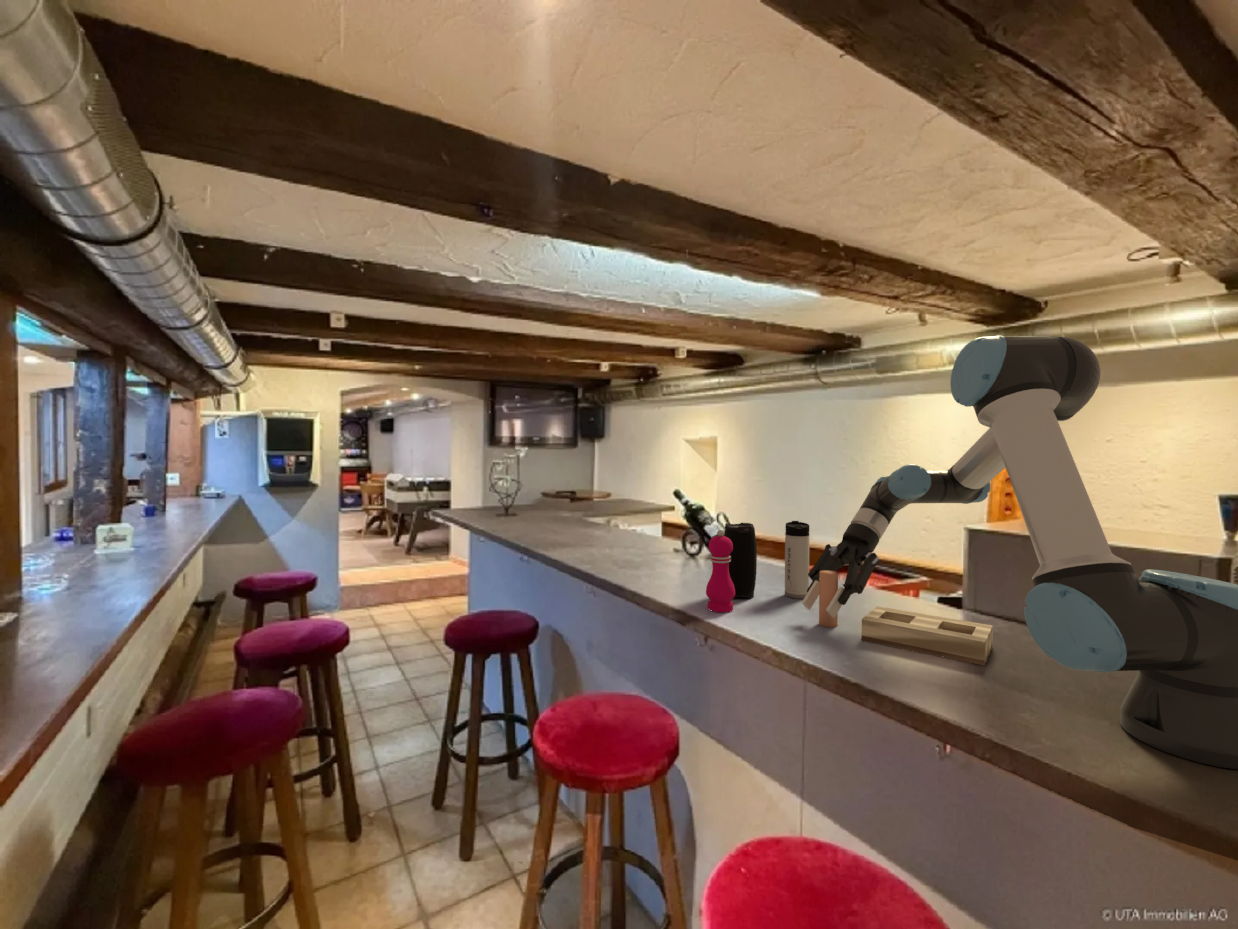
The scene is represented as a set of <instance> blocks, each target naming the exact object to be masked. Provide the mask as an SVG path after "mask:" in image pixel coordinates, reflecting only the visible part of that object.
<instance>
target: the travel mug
mask: <svg viewBox="0 0 1238 929" xmlns="http://www.w3.org/2000/svg"><path fill="white" fill-rule="evenodd" d="M784 536H785V538H784V596H785V597H787V598H790V599H796V600H797V599H798V600H799V599H802V600H803V599H804V598H805V596H806V595H807V593H808V592H807V589H808V588H809V586H810V577H809V576H808V573H809V572H810V537H811V536H810V524H808V522H807V523H806V522H802V521H799V520H791V521H789V522H786V523H785V532H784Z"/></svg>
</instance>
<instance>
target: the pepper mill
mask: <svg viewBox="0 0 1238 929" xmlns="http://www.w3.org/2000/svg"><path fill="white" fill-rule="evenodd" d="M724 532H725V530H723V529H718V531H717V532H716V534H717V535H715V536H713V537H711V538H710V540H709V542H708V550H709V552H710V553H711V555H710V562H712V564H711V565H712V570H711V575H710V577H709V580H708V582H707V584H706V588H705V595H706V596H707V598H708V599H709V600H708V601H707V609H708V608H709V609H710V610H712V611H716V612H715V613H717V612H728V613H731V612H733V611H734V602H733V600H734V599H733V598H734V596H735V588H734V584H733V582H732V580H731V578H730V575H729V562H731V560H730V558H731V556H730V553H731V552H732V550H733V544H732V541H731V540H730V539H729V538H728V537H725V536H724ZM709 609H708V610H709ZM710 610H709V611H710ZM732 610H733V611H732ZM712 611H711V612H712ZM730 611H731V612H730Z"/></svg>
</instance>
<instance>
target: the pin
mask: <svg viewBox="0 0 1238 929" xmlns="http://www.w3.org/2000/svg"><path fill="white" fill-rule="evenodd" d="M838 589H839V572H837V571H836V572H835V571H820V578H819V596H818V600H819V601H818V625H820V626H821V627H824V626H825V628H836V626H838V615H839V612H838V613H837V614H836V616H835V618H833V617H831V616H830V615H829V613H828V612H827V611H826V609H827V607H828V606H829V604H830V602H831V601H832V599H833V597H834V596H835V594H836V592H837V591H838Z"/></svg>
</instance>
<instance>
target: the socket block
mask: <svg viewBox="0 0 1238 929" xmlns="http://www.w3.org/2000/svg"><path fill="white" fill-rule="evenodd" d="M993 627H994V626H993V625H991V624H985V623H978V622H973V621H969V620H968V621H966V620H963V619H962V620H961V619H955V618H950V617H943V616H938V615H933V614H926V613H920V612H916V611H915V612H914V611H908V610H903V609H898V608H897V609H896V608H891V607H887V606H878V605H877V606H876V607H875V608H873V609H872V610H871V611H869V613H866V614H865V616H863V617H862V618H861V635H860V636H861V641H863V642H864V641H865V642H869V643H874V644H877V645H882V644H883V646H887V645H888V646H889V647H893V648H897V649H903V650H907V651H911V650H913V652H916V651H918V652H917V653H921V652H923V653H922V654H925V653H927V654H926V655H930V654H931V655H932V656H936V657H940V656H944V657H943V658H945V657H948V658H947V659H949V658H952V659H951V660H954V659H956V661H959V660H960V661H961V662H964V663H969V662H971V663H970V664H973V663H975V665H978V664H979V666H985V665H986V664H985V663H987V661H988V659H989V657H988V656H990V654H991V652H992V649H993V636H994V635H993V634H994V633H993V631H994V630H993V629H994V628H993ZM888 646H887V647H888ZM990 651H991V652H990ZM960 661H959V662H960Z"/></svg>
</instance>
